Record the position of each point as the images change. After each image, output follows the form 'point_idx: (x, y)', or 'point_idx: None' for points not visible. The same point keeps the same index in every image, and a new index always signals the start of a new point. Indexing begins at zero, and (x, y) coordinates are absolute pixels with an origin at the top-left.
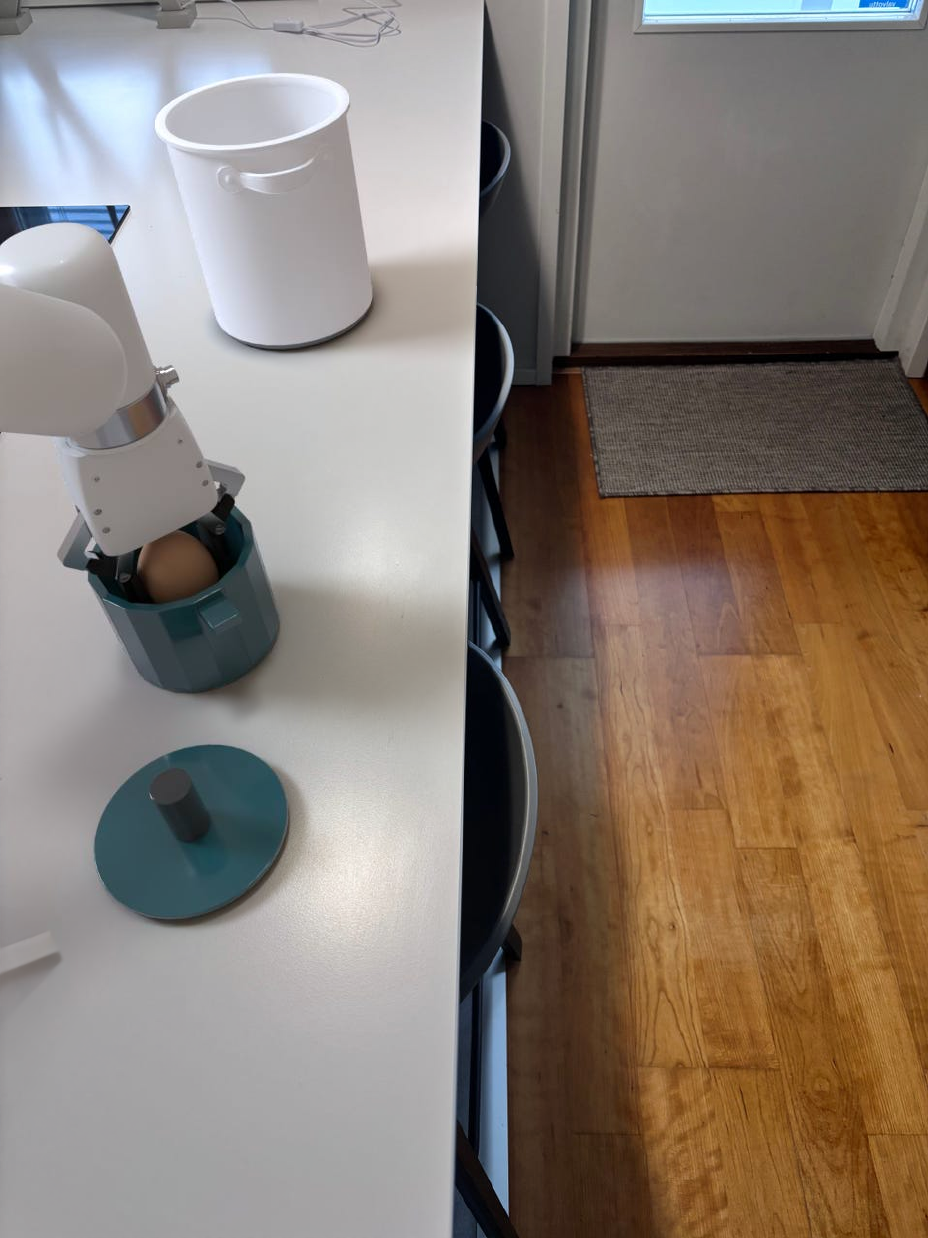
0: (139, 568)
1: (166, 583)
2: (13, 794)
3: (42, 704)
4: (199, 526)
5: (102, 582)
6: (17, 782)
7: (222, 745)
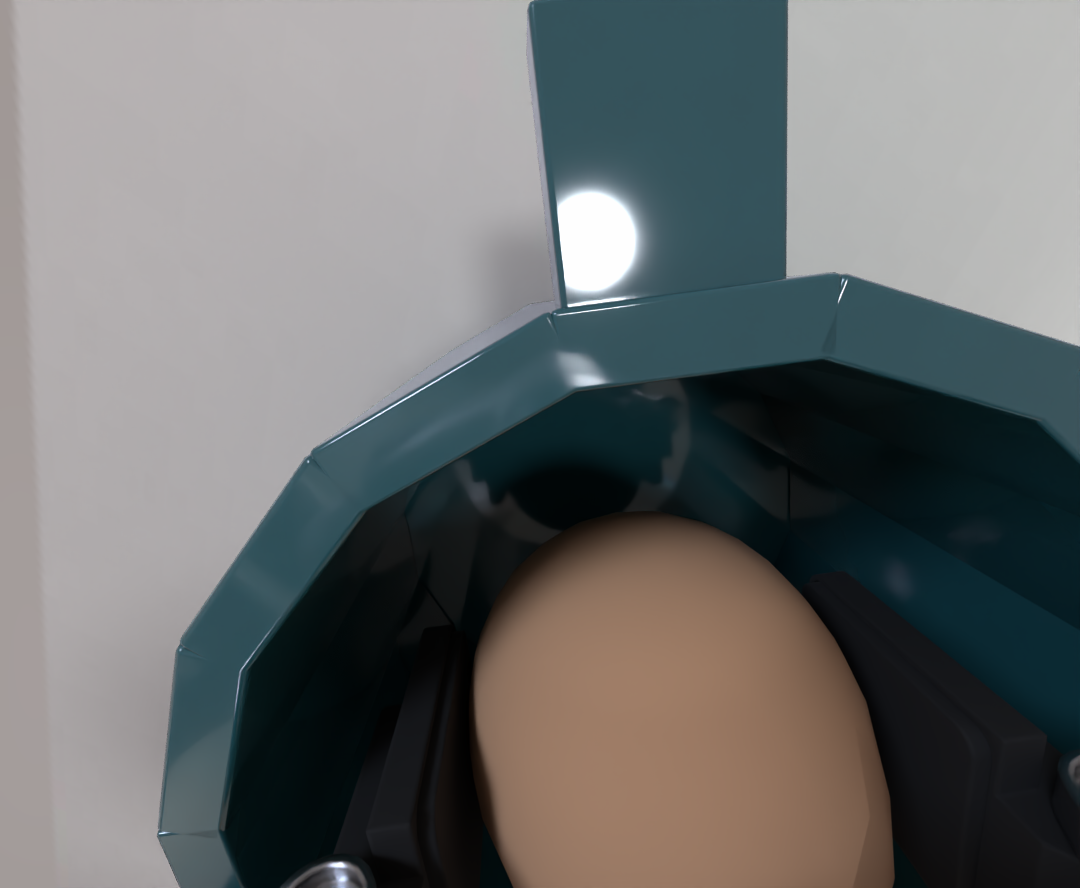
0: (494, 821)
1: None
2: (56, 725)
3: (129, 517)
4: (979, 775)
5: (274, 728)
6: (64, 701)
7: None
